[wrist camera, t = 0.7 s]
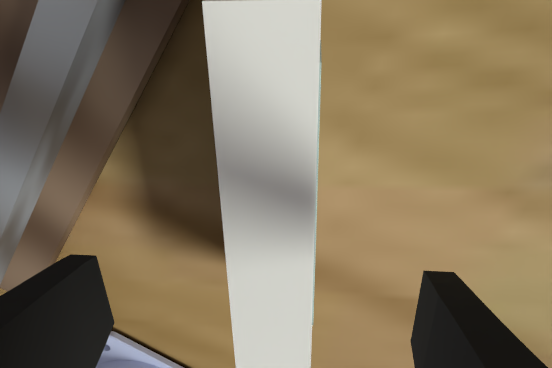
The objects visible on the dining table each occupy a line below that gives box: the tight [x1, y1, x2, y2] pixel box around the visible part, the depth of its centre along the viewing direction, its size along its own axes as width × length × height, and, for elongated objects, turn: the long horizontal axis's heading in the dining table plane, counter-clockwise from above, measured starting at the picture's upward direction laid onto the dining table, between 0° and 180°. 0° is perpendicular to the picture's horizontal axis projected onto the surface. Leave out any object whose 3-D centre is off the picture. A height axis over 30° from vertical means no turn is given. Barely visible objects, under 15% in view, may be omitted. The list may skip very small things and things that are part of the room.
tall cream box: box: [202, 0, 321, 368], centre depth 14 cm, size 12×3×6 cm, turn 1°
